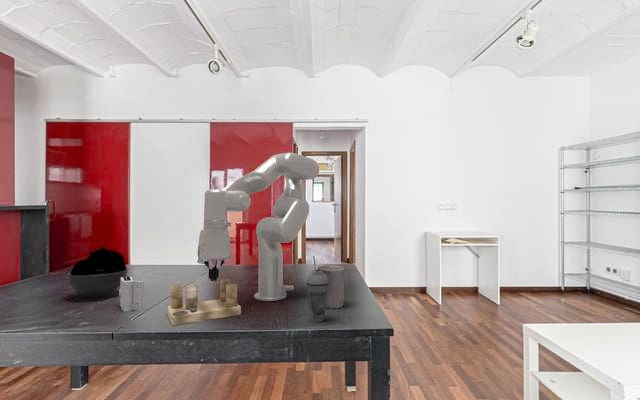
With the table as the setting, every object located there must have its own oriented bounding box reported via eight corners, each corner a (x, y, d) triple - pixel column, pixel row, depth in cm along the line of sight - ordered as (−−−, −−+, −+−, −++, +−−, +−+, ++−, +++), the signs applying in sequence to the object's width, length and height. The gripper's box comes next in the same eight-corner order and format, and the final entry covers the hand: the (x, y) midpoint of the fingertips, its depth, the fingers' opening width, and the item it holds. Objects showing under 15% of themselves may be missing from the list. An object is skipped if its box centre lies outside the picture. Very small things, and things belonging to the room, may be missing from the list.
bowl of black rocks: (106, 303, 122) (107, 252, 122) (53, 303, 122) (54, 252, 123) (137, 290, 142) (138, 246, 142) (91, 289, 142) (92, 246, 143)
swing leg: (200, 310, 105) (200, 288, 105) (188, 312, 103) (188, 289, 103) (196, 305, 110) (196, 284, 110) (184, 307, 108) (185, 285, 109)
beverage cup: (326, 324, 100) (326, 258, 101) (303, 322, 102) (303, 257, 102) (330, 316, 108) (330, 255, 108) (308, 315, 109) (309, 254, 110)
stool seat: (230, 304, 121) (230, 278, 121) (240, 314, 110) (241, 285, 110) (167, 313, 110) (167, 285, 110) (172, 325, 99) (172, 293, 99)
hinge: (143, 310, 114) (144, 281, 114) (126, 314, 110) (126, 284, 110) (129, 302, 123) (130, 275, 123) (113, 305, 119) (113, 277, 119)
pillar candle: (311, 305, 120) (312, 264, 120) (329, 299, 127) (329, 260, 127) (331, 311, 113) (332, 267, 114) (349, 305, 121) (349, 264, 121)
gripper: (233, 225, 119) (232, 276, 118) (190, 225, 112) (188, 280, 111) (240, 226, 113) (238, 280, 112) (194, 226, 105) (191, 284, 104)
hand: (213, 280), depth 111 cm, fingers closed
